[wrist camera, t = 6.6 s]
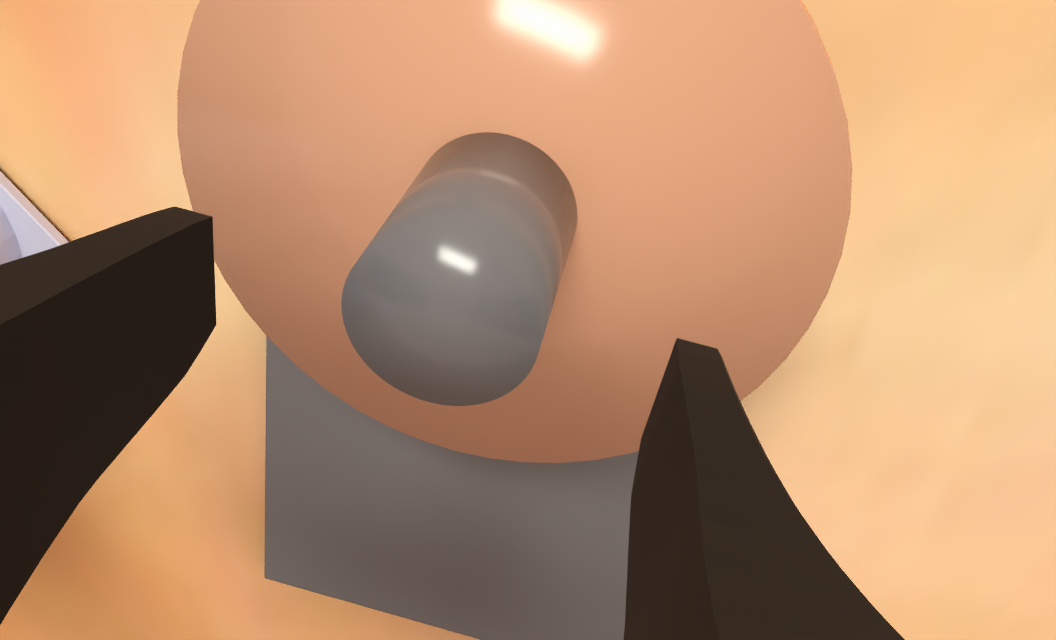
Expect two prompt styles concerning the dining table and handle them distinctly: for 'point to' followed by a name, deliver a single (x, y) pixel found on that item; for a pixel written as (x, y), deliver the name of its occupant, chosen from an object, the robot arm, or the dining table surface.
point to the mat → (440, 523)
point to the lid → (517, 201)
